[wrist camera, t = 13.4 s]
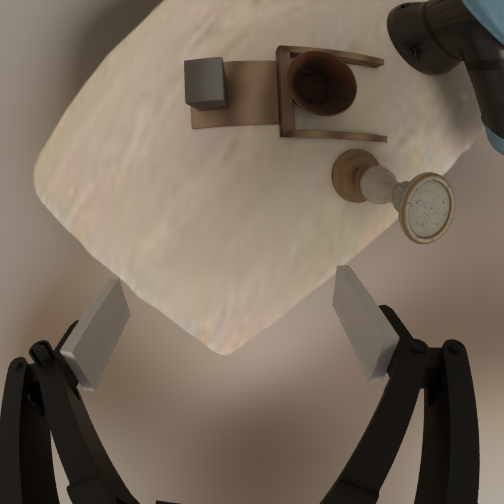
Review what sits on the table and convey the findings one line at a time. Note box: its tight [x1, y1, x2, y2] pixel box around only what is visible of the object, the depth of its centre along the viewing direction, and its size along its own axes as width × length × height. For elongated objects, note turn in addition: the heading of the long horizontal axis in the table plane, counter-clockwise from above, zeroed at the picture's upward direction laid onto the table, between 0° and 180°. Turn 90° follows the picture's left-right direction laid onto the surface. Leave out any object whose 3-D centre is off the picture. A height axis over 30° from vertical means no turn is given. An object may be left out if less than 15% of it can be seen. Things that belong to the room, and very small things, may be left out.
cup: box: [286, 50, 357, 116], centre depth 31 cm, size 9×9×10 cm
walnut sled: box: [184, 46, 387, 143], centre depth 30 cm, size 29×14×12 cm, turn 92°
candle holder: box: [332, 149, 455, 244], centre depth 32 cm, size 9×9×20 cm
